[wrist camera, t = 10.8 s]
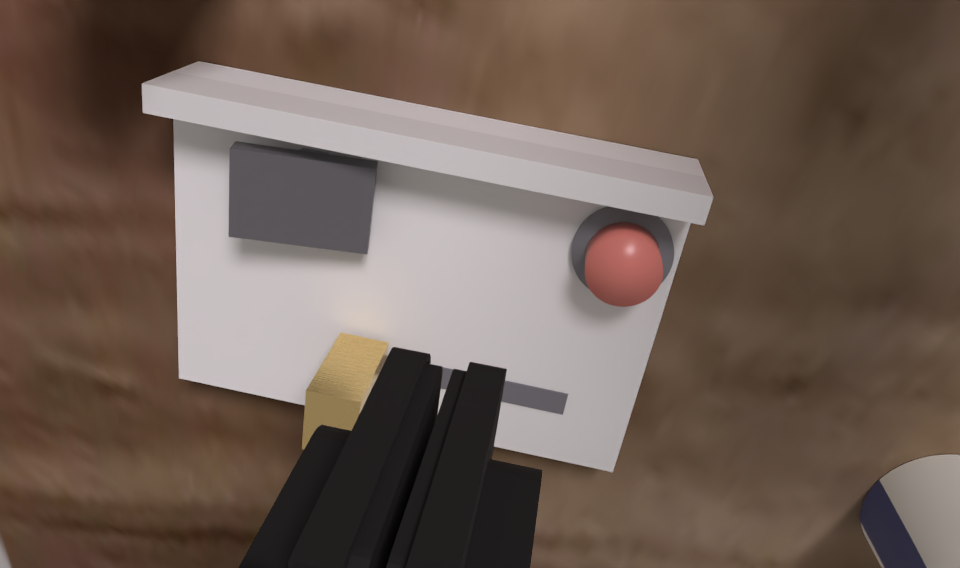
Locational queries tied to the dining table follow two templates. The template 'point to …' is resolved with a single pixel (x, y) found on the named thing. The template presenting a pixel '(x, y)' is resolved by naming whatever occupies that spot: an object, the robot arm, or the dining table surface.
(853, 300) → the dining table surface
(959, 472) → the white striped vase
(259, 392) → the console
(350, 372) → the brass slider
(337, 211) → the dark grey flat panel
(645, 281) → the red button
